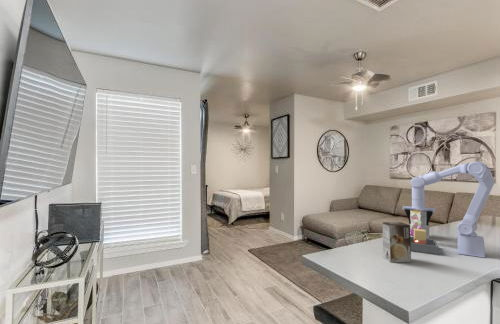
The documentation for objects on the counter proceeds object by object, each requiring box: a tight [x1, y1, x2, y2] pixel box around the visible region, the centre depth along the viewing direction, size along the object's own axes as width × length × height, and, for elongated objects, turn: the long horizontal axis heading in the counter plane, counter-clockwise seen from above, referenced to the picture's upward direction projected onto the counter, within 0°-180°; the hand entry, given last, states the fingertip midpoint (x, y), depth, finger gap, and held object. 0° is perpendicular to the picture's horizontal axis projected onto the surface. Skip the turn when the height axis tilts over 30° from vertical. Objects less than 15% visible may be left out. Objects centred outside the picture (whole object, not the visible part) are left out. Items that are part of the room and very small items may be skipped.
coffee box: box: [381, 221, 412, 263], centre depth 110 cm, size 9×6×16 cm
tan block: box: [413, 229, 426, 240], centre depth 125 cm, size 5×5×4 cm
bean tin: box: [413, 238, 426, 245], centre depth 125 cm, size 5×5×5 cm
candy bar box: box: [409, 209, 430, 239], centre depth 147 cm, size 11×5×16 cm, turn 179°
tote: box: [410, 236, 440, 256], centre depth 125 cm, size 14×14×4 cm
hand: (418, 224), depth 134 cm, fingers open, 7 cm apart
